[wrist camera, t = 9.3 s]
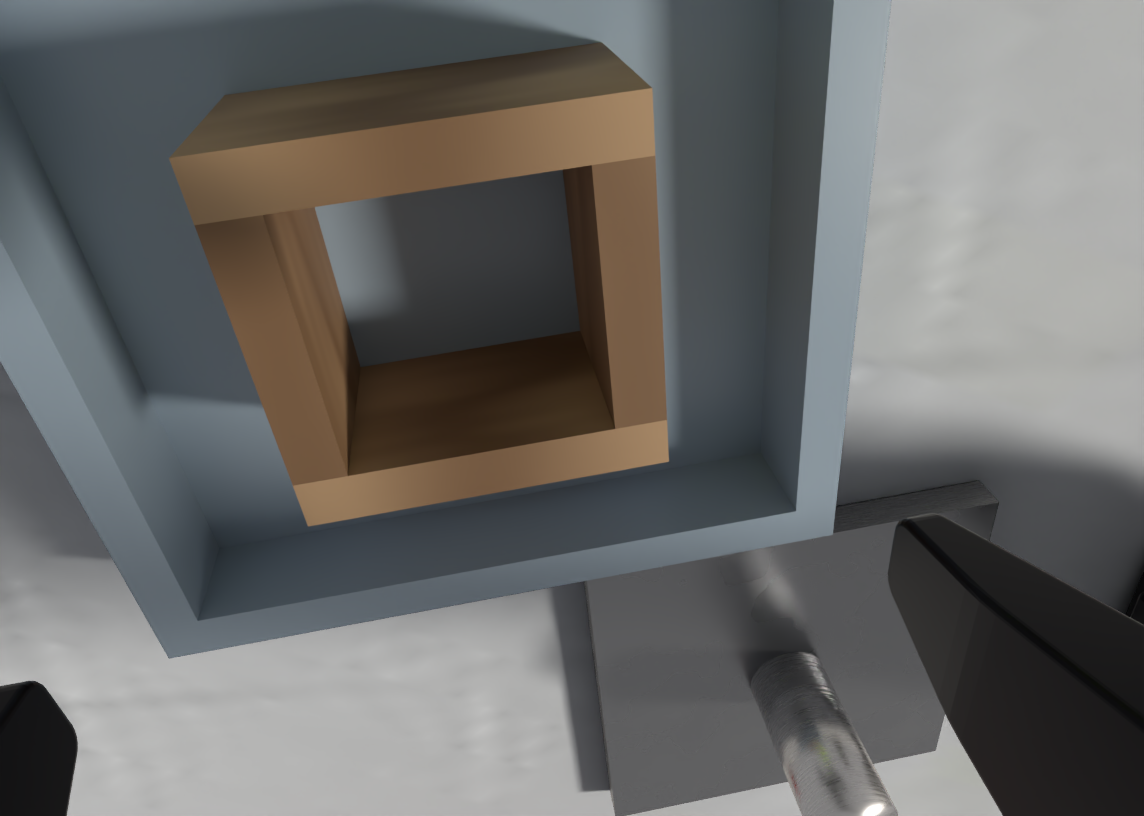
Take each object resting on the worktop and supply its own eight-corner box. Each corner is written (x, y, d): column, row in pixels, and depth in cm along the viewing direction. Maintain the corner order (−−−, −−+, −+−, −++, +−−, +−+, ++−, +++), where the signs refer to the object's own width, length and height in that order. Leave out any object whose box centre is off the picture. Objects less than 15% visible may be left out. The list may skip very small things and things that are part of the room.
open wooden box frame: (601, 42, 15) (652, 88, 12) (625, 360, 19) (668, 461, 16) (224, 94, 15) (168, 157, 12) (327, 411, 19) (308, 526, 15)
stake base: (978, 480, 24) (1124, 637, 19) (921, 727, 31) (1018, 890, 26) (580, 553, 23) (624, 738, 18) (610, 791, 30) (648, 973, 25)
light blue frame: (835, -292, 14) (927, -329, 11) (787, 462, 23) (832, 534, 20) (-172, -185, 12) (-319, -201, 10) (198, 567, 21) (168, 658, 19)
